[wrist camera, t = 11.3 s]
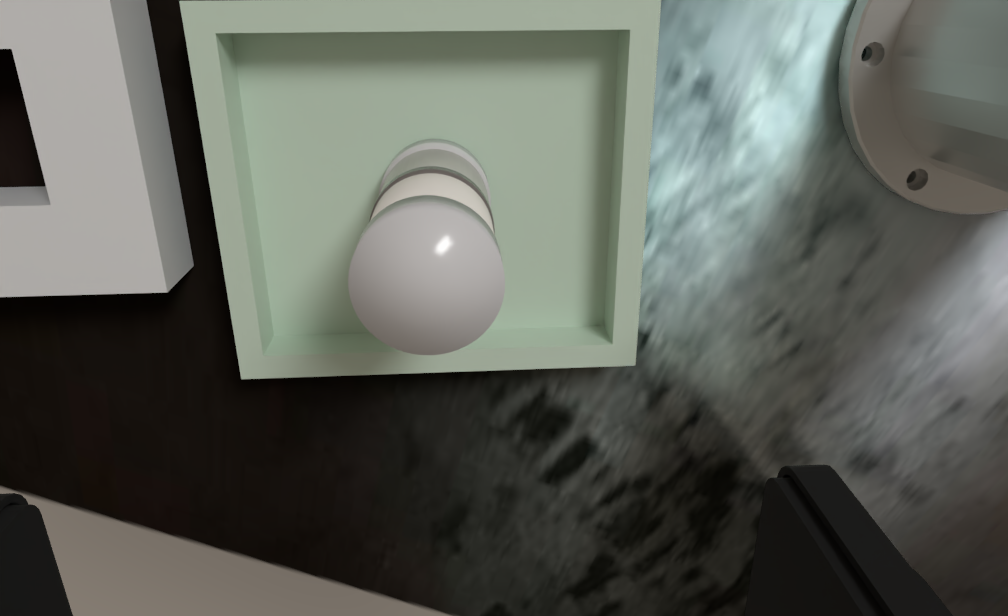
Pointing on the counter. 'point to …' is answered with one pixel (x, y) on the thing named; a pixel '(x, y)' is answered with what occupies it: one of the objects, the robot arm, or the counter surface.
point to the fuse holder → (91, 155)
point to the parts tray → (414, 117)
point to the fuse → (429, 253)
